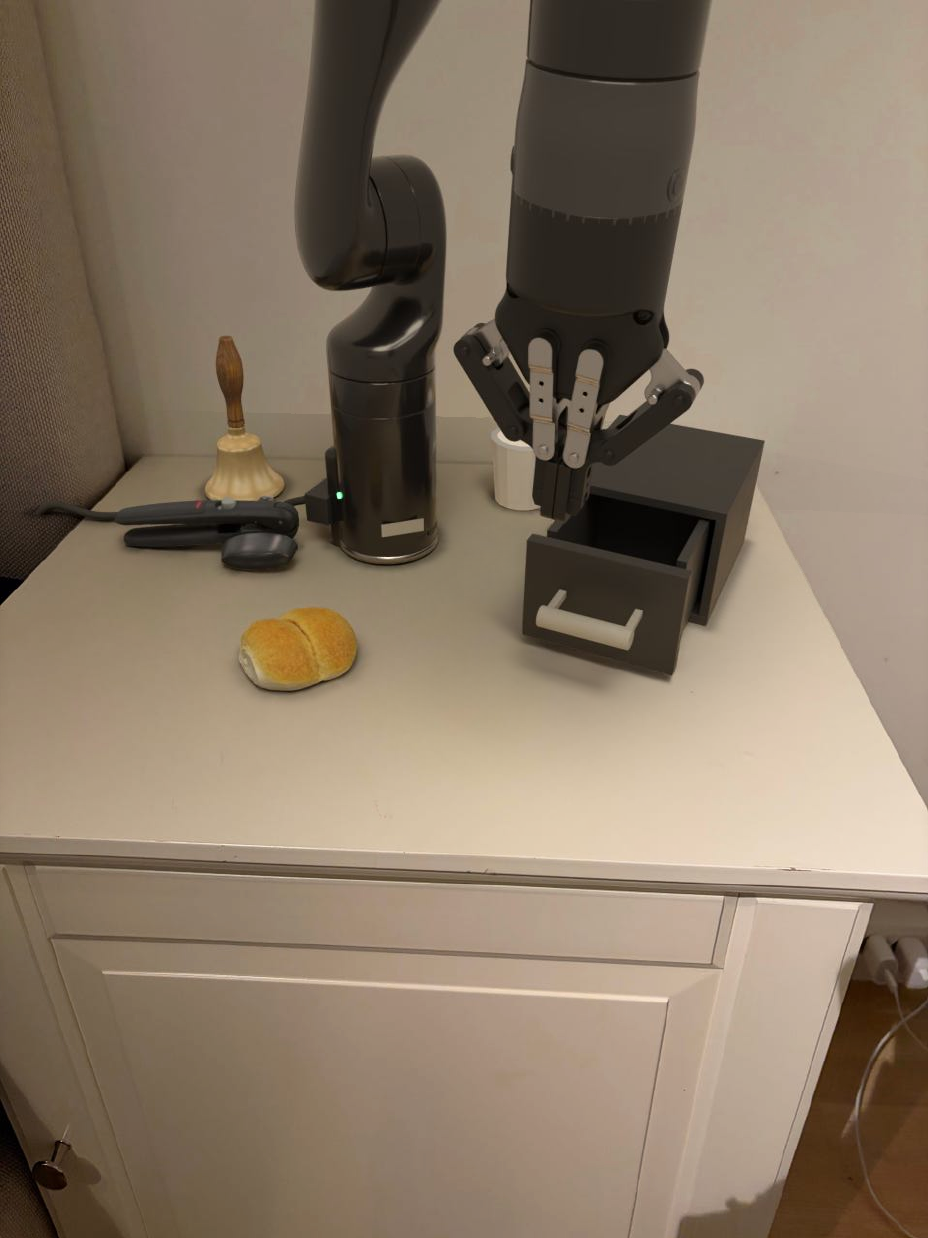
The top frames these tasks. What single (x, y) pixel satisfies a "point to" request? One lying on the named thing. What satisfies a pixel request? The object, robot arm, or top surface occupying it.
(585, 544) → the cabinet drawer
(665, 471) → the single drawer cabinet
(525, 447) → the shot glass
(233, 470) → the hand bell
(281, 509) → the can opener
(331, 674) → the bread roll
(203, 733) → the top surface
